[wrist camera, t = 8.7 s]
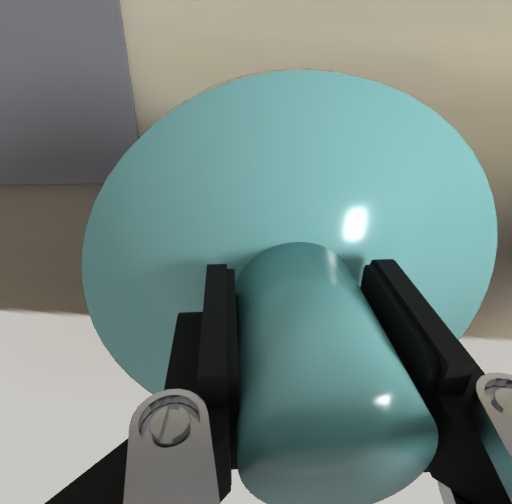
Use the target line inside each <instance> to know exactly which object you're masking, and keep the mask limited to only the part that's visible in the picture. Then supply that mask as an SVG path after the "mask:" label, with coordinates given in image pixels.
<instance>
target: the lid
mask: <svg viewBox="0 0 512 504" xmlns="http://www.w3.org/2000/svg"><path fill="white" fill-rule="evenodd" d="M496 251H497V216H496V210H495V204H494V198H493V195H492V192H491V189H490V186H489V183H488V180H487V177H486V175H485V172H484V171H483V169H482V167H481V165H480V163H479V161H478V160H477V158H476V156H475V154H474V152H473V151H472V149H471V148H470V147H469V146H468V144H467V143H466V142H465V141H464V139H463V138H462V137H461V136H460V134H459V133H458V132H457V131H456V130H455V129H454V128H453V127H452V126H451V125H450V124H449V123H448V122H446V121H445V120H444V119H443V118H442V117H441V116H440V115H439V114H437V113H436V112H435V111H434V110H433V109H431V108H429V107H428V106H426V105H424V104H423V103H421V102H420V101H418V100H416V99H415V98H413V97H411V96H410V95H408V94H406V93H404V92H401V91H399V90H396V89H394V88H392V87H389V86H387V85H384V84H382V83H379V82H376V81H372V80H368V79H364V78H360V77H355V76H351V75H347V74H342V73H338V72H333V71H325V70H312V69H286V70H270V71H265V72H260V73H255V74H251V75H246V76H241V77H237V78H234V79H232V80H229V81H226V82H223V83H221V84H218V85H215V86H213V87H210V88H207V89H206V90H204V91H202V92H200V93H198V94H196V95H195V96H193V97H191V98H189V99H187V100H185V101H184V102H182V103H180V104H179V105H177V106H176V107H175V108H173V109H172V110H171V111H169V112H168V113H167V114H165V115H164V116H163V117H161V118H160V119H159V120H157V121H156V122H155V123H154V124H153V125H152V126H151V127H150V128H149V129H148V130H147V131H146V132H145V133H144V134H143V135H142V136H141V137H140V138H139V139H138V140H137V141H136V142H135V143H134V144H133V145H132V146H131V147H130V149H129V150H128V151H127V152H126V153H125V154H124V155H123V157H122V158H121V159H120V161H119V162H118V163H117V165H116V166H115V168H114V169H113V170H112V172H111V173H110V174H109V176H108V177H107V179H106V181H105V183H104V185H103V187H102V189H101V191H100V193H99V194H98V196H97V198H96V200H95V202H94V205H93V208H92V211H91V214H90V217H89V220H88V223H87V226H86V229H85V235H84V242H83V248H82V255H81V257H82V284H83V290H84V295H85V301H86V305H87V308H88V311H89V314H90V317H91V319H92V322H93V325H94V327H95V329H96V331H97V333H98V335H99V336H100V338H101V340H102V342H103V344H104V345H105V347H106V348H107V350H108V351H109V352H110V354H111V355H112V357H113V358H114V359H115V361H116V362H117V363H118V364H119V365H120V366H121V367H122V368H123V369H124V370H125V372H127V374H128V375H129V376H130V377H131V378H133V379H134V380H135V381H136V382H137V383H139V384H140V385H141V386H142V387H144V388H145V389H146V390H147V391H149V392H150V393H152V394H156V393H158V392H161V391H164V387H165V381H166V376H167V370H168V365H169V359H170V354H171V348H172V343H173V337H174V332H175V326H176V321H177V316H178V313H179V312H203V303H204V292H205V280H206V269H207V264H227V269H235V291H236V317H237V343H238V370H239V417H238V421H237V461H238V472H239V475H240V478H241V481H242V482H243V484H244V485H245V487H246V488H247V489H248V490H249V491H250V493H252V494H253V495H254V496H255V497H257V498H258V499H260V500H261V501H263V502H265V503H267V504H373V503H376V502H378V501H381V500H383V499H385V498H388V497H389V496H392V495H393V494H395V493H397V492H399V491H400V490H402V489H404V488H405V487H406V486H408V485H409V484H411V483H412V482H413V481H414V480H415V479H416V478H417V477H419V476H420V475H421V474H422V472H423V471H424V470H425V469H426V468H427V467H428V465H429V464H430V462H431V461H432V459H433V457H434V455H435V453H436V449H437V446H438V437H439V436H438V429H437V426H436V423H435V421H434V419H433V417H432V415H431V414H430V412H429V410H428V408H427V406H426V405H425V403H424V401H423V399H422V397H421V396H420V394H419V392H418V390H417V388H416V387H415V385H414V383H413V381H412V380H411V378H410V376H409V374H408V372H407V371H406V369H405V367H404V365H403V363H402V362H401V360H400V358H399V356H398V355H397V353H396V351H395V349H394V347H393V346H392V344H391V342H390V340H389V338H388V337H387V335H386V333H385V331H384V329H383V328H382V326H381V324H380V322H379V321H378V319H377V317H376V315H375V313H374V312H373V310H372V308H371V306H370V304H369V303H368V301H367V299H366V297H365V295H364V294H363V292H362V290H361V288H360V287H361V281H362V275H363V269H364V267H365V265H370V262H371V261H372V260H374V259H394V260H395V261H396V262H397V264H398V265H399V266H400V267H401V269H402V270H403V271H404V272H405V274H406V275H407V276H408V277H409V279H410V280H411V281H412V282H413V284H414V285H415V286H416V288H417V289H418V290H419V291H420V293H421V294H422V295H423V296H424V298H425V299H426V300H427V301H428V303H429V304H430V305H431V306H432V308H433V309H434V310H435V312H436V313H437V314H438V315H439V317H440V318H441V319H442V320H443V322H444V323H445V324H446V325H447V327H448V328H449V329H450V330H451V332H452V333H453V334H454V335H455V337H456V338H457V339H458V340H459V339H460V338H461V336H462V335H463V334H464V332H465V331H466V330H467V328H468V327H469V325H470V323H471V322H472V320H473V318H474V317H475V315H476V313H477V312H478V310H479V308H480V305H481V303H482V301H483V299H484V296H485V294H486V292H487V290H488V286H489V283H490V280H491V276H492V273H493V269H494V264H495V258H496Z"/></svg>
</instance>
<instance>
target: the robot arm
mask: <svg viewBox="0 0 512 504" xmlns="http://www.w3.org/2000/svg"><path fill="white" fill-rule="evenodd" d="M360 288H361V290H362V292H363V294H364V295H365V297H366V299H367V301H368V303H369V304H370V306H371V308H372V310H373V312H374V313H375V315H376V317H377V319H378V321H379V322H380V324H381V326H382V328H383V329H384V331H385V333H386V335H387V337H388V338H389V340H390V342H391V344H392V346H393V347H394V349H395V351H396V353H397V355H398V356H399V358H400V360H401V362H402V363H403V365H404V367H405V369H406V371H407V372H408V374H409V376H410V378H411V380H412V381H413V383H414V385H415V387H416V388H417V390H418V392H419V394H420V396H421V397H422V399H423V401H424V403H425V405H426V406H427V408H428V410H429V412H430V414H431V415H432V417H433V419H434V421H435V423H436V426H437V429H438V436H439V437H438V446H437V449H436V453H435V455H434V457H433V459H432V461H431V462H430V464H429V465H428V467H427V468H426V469H425V470H424V471H423V472H430V473H431V475H432V477H433V478H435V479H436V480H438V485H439V490H440V493H441V496H442V499H443V502H444V504H512V375H509V374H503V373H488V374H486V375H485V374H484V372H483V371H482V370H481V369H480V367H479V366H478V365H477V363H476V362H475V361H474V359H473V358H472V357H471V356H470V354H469V353H468V352H467V351H466V349H465V348H464V347H463V346H462V344H461V343H460V342H459V341H458V339H457V338H456V337H455V335H454V334H453V333H452V332H451V330H450V329H449V328H448V327H447V325H446V324H445V323H444V322H443V320H442V319H441V318H440V317H439V315H438V314H437V313H436V312H435V310H434V309H433V308H432V306H431V305H430V304H429V303H428V301H427V300H426V299H425V298H424V296H423V295H422V294H421V293H420V291H419V290H418V289H417V288H416V286H415V285H414V284H413V282H412V281H411V280H410V279H409V277H408V276H407V275H406V274H405V272H404V271H403V270H402V269H401V267H400V266H399V265H398V264H397V262H396V261H395V260H394V259H374V260H372V261H371V262H370V265H365V267H364V269H363V275H362V281H361V287H360ZM238 417H239V370H238V343H237V317H236V291H235V269H227V264H207V269H206V280H205V292H204V303H203V312H179V313H178V316H177V321H176V326H175V332H174V337H173V343H172V348H171V354H170V359H169V365H168V370H167V376H166V381H165V387H164V391H161V392H158V393H156V394H154V395H152V396H150V397H149V398H147V399H146V400H145V401H144V402H143V403H141V404H140V406H138V408H137V409H136V411H135V413H134V414H133V416H132V419H131V422H130V426H129V438H128V439H127V440H125V441H124V442H123V443H122V444H121V445H119V446H118V447H117V448H115V449H114V450H113V451H112V452H110V453H109V454H108V455H106V456H105V457H104V458H102V459H101V460H100V461H99V462H98V463H96V464H95V465H94V466H92V467H91V468H90V469H88V470H87V471H86V472H85V473H83V474H82V475H81V476H79V477H78V478H77V479H76V480H75V481H73V482H72V483H70V484H69V485H68V486H67V487H65V488H64V489H63V490H62V491H60V492H59V493H58V494H56V495H55V496H54V497H53V498H51V499H50V500H49V501H47V502H46V503H45V504H220V502H221V501H222V500H223V499H224V498H225V497H226V495H227V494H228V493H229V492H230V491H231V469H238V461H237V421H238Z"/></svg>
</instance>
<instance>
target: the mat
mask: <svg viewBox="0 0 512 504" xmlns="http://www.w3.org/2000/svg"><path fill="white" fill-rule="evenodd" d="M138 139H139V137H138V130H137V123H136V116H135V109H134V101H133V94H132V87H131V80H130V73H129V66H128V59H127V51H126V44H125V37H124V30H123V23H122V16H121V9H120V2H119V0H0V185H37V184H102V183H105V181H106V179H107V177H108V176H109V174H110V173H111V172H112V170H113V169H114V168H115V166H116V165H117V163H118V162H119V161H120V159H121V158H122V157H123V155H124V154H125V153H126V152H127V151H128V150H129V149H130V147H131V146H132V145H133V144H134V143H135V142H136V141H137V140H138Z"/></svg>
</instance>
